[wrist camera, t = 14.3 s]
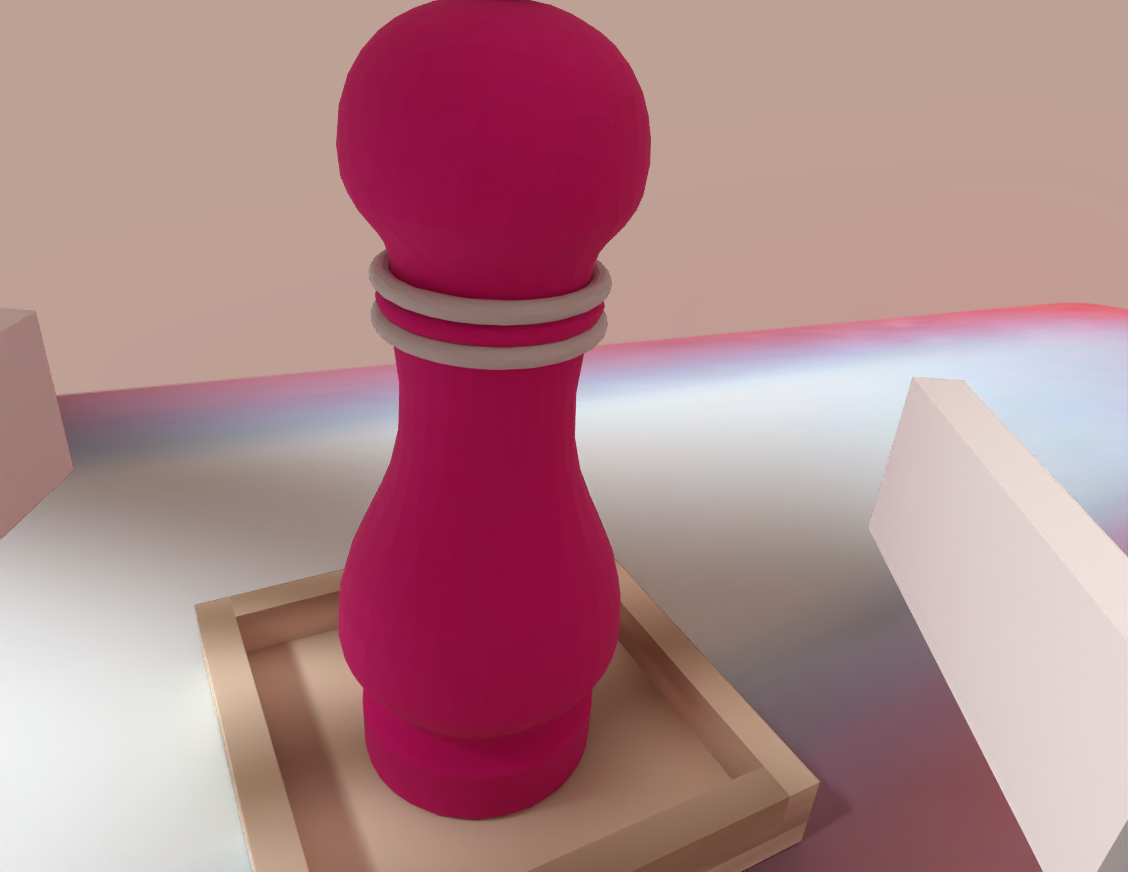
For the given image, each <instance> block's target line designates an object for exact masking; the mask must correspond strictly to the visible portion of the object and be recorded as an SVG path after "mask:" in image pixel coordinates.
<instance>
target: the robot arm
mask: <svg viewBox="0 0 1128 872" xmlns="http://www.w3.org/2000/svg"><path fill="white" fill-rule="evenodd" d="M73 470H74V468H73V464H72V460H71V456H70V452H69V447H68V443H67V439H66V435H65V431H64V427H63V423H62V418H61V414H60V410H59V406H58V402H57V398H56V393H55V389H54V385H53V381H52V378H51V373H50V369H49V364H48V360H47V356H46V352H45V348H44V344H43V340H42V336H41V331H40V327H39V324H38V319H37V315H36V311H29V310H18V309H4V308H0V540H1V539H2V538H3V537H4V536H5V535H6V534H7V533H8V532H9V531H10V530H11V529H13V528H14V527H15V526H16V525H17V524H18V523H19V522H20V521H21V520H22V519H23V518H24V517H25V516H26V515H27V514H28V513H29V512H30V511H31V510H32V509H34V508H35V507H36V506H37V505H38V504H39V503H40V502H41V501H42V500H43V499H44V498H45V497H46V496H47V495H48V494H49V493H50V492H51V491H52V490H53V489H54V488H56V487H57V486H58V485H59V484H60V483H61V482H62V481H63V480H64V479H65V478H66V477H67V476H68V475H69V474H70V473H71V472H72V471H73ZM868 529H869V530H870V532H871V534H872V536H873V538H874V540H875V542H876V544H877V546H878V548H879V550H880V552H881V554H882V556H883V558H884V560H885V562H886V564H887V566H888V568H889V570H890V572H891V574H892V576H893V578H894V580H895V582H896V584H897V586H898V587H899V589H900V591H901V593H902V595H903V597H904V599H905V601H906V603H907V605H908V607H909V609H910V611H911V613H912V615H913V617H914V619H915V621H916V623H917V625H918V627H919V629H920V631H921V633H922V635H923V637H924V639H925V641H926V643H927V644H928V646H929V648H930V650H931V652H932V654H933V656H934V658H935V660H936V662H937V664H938V666H939V668H940V670H941V672H942V674H943V676H944V678H945V680H946V682H947V684H948V686H949V688H950V690H951V692H952V694H953V696H954V698H955V700H956V701H957V703H958V705H959V707H960V709H961V711H962V713H963V715H964V717H965V719H966V721H967V723H968V725H969V727H970V729H971V731H972V733H973V735H974V737H975V739H976V741H977V743H978V745H979V747H980V749H981V751H982V753H983V755H984V757H985V758H986V760H987V762H988V764H989V766H990V768H991V770H992V772H993V774H994V776H995V778H996V780H997V782H998V784H999V786H1000V788H1001V790H1002V792H1003V794H1004V796H1005V798H1006V800H1007V802H1008V804H1009V806H1010V808H1011V810H1012V812H1013V814H1014V815H1015V817H1016V819H1017V821H1018V823H1019V825H1020V827H1021V829H1022V831H1023V833H1024V835H1025V837H1026V839H1027V841H1028V843H1029V845H1030V847H1031V849H1032V851H1033V853H1034V855H1035V857H1036V859H1037V861H1038V863H1039V865H1040V867H1041V869H1042V871H1043V872H1128V557H1127V556H1126V555H1125V554H1124V553H1123V552H1122V551H1121V549H1120V548H1119V547H1118V546H1117V545H1116V544H1115V543H1114V542H1113V541H1112V540H1111V539H1110V538H1109V537H1108V535H1107V534H1106V533H1105V532H1104V531H1103V530H1102V529H1101V528H1100V527H1099V526H1098V525H1097V524H1096V523H1095V522H1094V520H1093V519H1092V518H1091V517H1090V516H1089V515H1088V514H1087V513H1086V512H1085V511H1084V510H1083V509H1082V508H1081V507H1080V505H1079V504H1078V503H1077V502H1076V501H1075V500H1074V499H1073V498H1072V497H1071V496H1070V495H1069V494H1068V493H1067V491H1066V490H1065V489H1064V488H1063V487H1062V486H1061V485H1060V484H1059V483H1058V482H1057V481H1056V480H1055V479H1054V478H1053V476H1052V475H1051V474H1050V473H1049V472H1048V471H1047V470H1046V469H1045V468H1044V467H1043V466H1042V465H1041V464H1040V462H1039V461H1038V460H1037V459H1036V458H1035V457H1034V456H1033V455H1032V454H1031V453H1030V452H1029V451H1028V450H1027V449H1026V447H1025V446H1024V445H1023V444H1022V443H1021V442H1020V441H1019V440H1018V439H1017V438H1016V437H1015V436H1014V435H1013V434H1012V432H1011V431H1010V430H1009V429H1008V428H1007V427H1006V426H1005V425H1004V424H1003V423H1002V422H1001V421H1000V420H999V418H998V417H997V416H996V415H995V414H994V413H993V412H992V411H991V410H990V409H989V408H988V407H987V406H986V405H985V403H984V402H983V401H982V400H981V399H980V398H979V397H978V396H977V395H976V394H975V393H974V392H973V391H972V389H971V388H970V387H969V386H968V385H967V384H966V383H965V382H964V381H961V380H947V379H934V378H921V377H913V378H912V381H911V384H910V388H909V391H908V395H907V398H906V401H905V405H904V408H903V412H902V415H901V419H900V422H899V425H898V429H897V432H896V436H895V439H894V442H893V446H892V449H891V453H890V456H889V459H888V463H887V466H886V470H885V473H884V476H883V480H882V483H881V487H880V490H879V493H878V497H877V500H876V504H875V507H874V510H873V514H872V517H871V521H870V524H869V528H868Z"/></svg>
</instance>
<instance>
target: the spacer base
mask: <svg viewBox="0 0 1128 872" xmlns="http://www.w3.org/2000/svg"><path fill="white" fill-rule="evenodd" d="M614 560H615V558H614ZM615 564H616V568H617V573H618V577H619V586H620V594H621V596H620V628H619V638H618V641H617V645H616V649H615V652H614V655H613V658H612V660H611V662H610V664H609V666H608V668H607V670H606V672H605V673H604V675H603V676H602V677H601V679H600V680H599V681H598V683H597V684H596V685H595V687H594V688H593V689H592V690H593V692H592V706H591V714H590V722H589V731H588V737H587V743H586V748H585V751H584V754H583V756H582V759H581V761H580V763H579V765H578V766H577V768H576V769H575V770H574V772H573V773H572V774H571V776H570V777H569V778H568V780H567V781H566V782H565V783H564V784H563V785H562V786H561V787H560V788H559V789H558V790H557V791H555V792H554V793H553V794H551V795H550V796H548V797H547V798H545V799H543V800H542V801H540V802H539V803H537V804H535V805H534V806H532V807H530V808H527V809H524V810H521V811H518V812H514V813H511V814H507V815H504V816H501V817H493V818H485V819H477V820H475V819H466V818H457V817H448V816H439V815H437V814H434V813H432V812H429V811H427V810H424V809H422V808H419V807H417V806H414V805H412V804H410V803H409V802H407V801H406V800H404V799H403V798H401V797H400V796H398V795H397V794H396V793H394V792H393V791H392V790H391V789H390V788H389V787H388V786H387V785H386V784H385V783H384V782H383V780H382V779H381V778H380V777H379V775H378V773H377V772H376V770H375V768H374V766H373V765H372V763H371V760H370V757H369V754H368V751H367V747H366V743H365V730H364V714H363V687H362V686H361V685H360V683H359V682H358V681H357V680H356V678H355V677H354V675H353V674H352V672H351V670H350V668H349V666H348V664H347V662H346V660H345V658H344V654H343V650H342V646H341V643H340V639H339V630H338V616H339V597H340V582H341V579H342V575H343V572H344V569H342V570H338V571H334V572H330V573H326V574H321V575H317V576H313V577H309V578H305V579H301V580H297V581H293V582H289V583H284V584H280V585H276V586H272V587H268V588H264V589H260V590H256V591H251V592H247V593H243V594H239V595H235V596H231V597H227V598H223V599H218V600H214V601H210V602H206V603H202V604H198V605H195V610H196V616H197V621H198V627H199V633H200V638H201V644H202V650H203V655H204V661H205V666H206V670H207V674H208V679H209V683H210V688H211V692H212V696H213V701H214V705H215V710H216V714H217V718H218V723H219V727H220V732H221V736H222V740H223V745H224V749H225V753H226V758H227V762H228V767H229V771H230V775H231V780H232V784H233V789H234V793H235V797H236V802H237V806H238V811H239V815H240V819H241V824H242V828H243V833H244V837H245V841H246V846H247V850H248V854H249V859H250V863H251V868H252V872H742V871H744V870H745V869H747V868H749V867H751V866H753V865H755V864H757V863H759V862H761V861H763V860H765V859H767V858H769V857H771V856H773V855H775V854H777V853H779V852H781V851H783V850H785V849H787V848H789V847H791V846H793V845H794V844H796V843H798V842H800V841H802V838H803V835H804V831H805V828H806V825H807V822H808V819H809V816H810V813H811V809H812V806H813V803H814V800H815V797H816V794H817V791H818V787H819V784H820V781H819V780H818V779H817V778H816V777H815V776H814V775H813V774H812V772H811V771H810V770H809V769H808V768H807V767H806V766H805V765H804V764H803V763H802V762H801V761H800V759H799V758H798V757H797V756H796V755H795V754H794V753H793V752H792V751H791V750H790V749H789V747H788V746H787V745H786V744H785V743H784V742H783V741H782V740H781V739H780V738H779V737H778V736H777V734H776V733H775V732H774V731H773V730H772V729H771V728H770V727H769V726H768V725H767V724H766V722H765V721H764V720H763V719H762V718H761V717H760V716H759V715H758V714H757V713H756V712H755V711H754V709H753V708H752V707H751V706H750V705H749V704H748V703H747V702H746V701H745V700H744V699H743V698H742V696H741V695H740V694H739V693H738V692H737V691H736V690H735V689H734V688H733V687H732V686H731V684H730V683H729V682H728V681H727V680H726V679H725V678H724V677H723V676H722V675H721V674H720V673H719V671H718V670H717V669H716V668H715V667H714V666H713V665H712V664H711V663H710V662H709V661H708V659H707V658H706V657H705V656H704V655H703V654H702V653H701V652H700V651H699V650H698V649H697V648H696V646H695V645H694V644H693V643H692V642H691V641H690V640H689V639H688V638H687V637H686V636H685V635H684V633H683V632H682V631H681V630H680V629H679V628H678V627H677V626H676V625H675V624H674V623H673V621H672V620H671V619H670V618H669V617H668V616H667V615H666V614H665V613H664V612H663V611H662V610H661V608H660V607H659V606H658V605H657V604H656V603H655V602H654V601H653V600H652V599H651V598H650V597H649V595H648V594H647V593H646V592H645V591H644V590H643V589H642V588H641V587H640V586H639V585H638V583H637V582H636V581H635V580H634V579H633V578H632V577H631V576H630V575H629V574H628V573H627V572H626V570H625V569H624V568H623V567H622V566H621V565H620V564H619V563H618V562H617V561H616V560H615Z"/></svg>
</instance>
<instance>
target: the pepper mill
mask: <svg viewBox="0 0 1128 872" xmlns="http://www.w3.org/2000/svg"><path fill="white" fill-rule="evenodd" d="M650 145H651V136H650V126H649V116H648V112H647V108H646V103H645V100H644V95H643V92H642V89H641V87H640V85H639V83H638V81H637V79H636V77H635V74H634V72H633V70H632V68H631V66H630V65H629V63H628V62H627V61H626V59H625V58H624V57H623V55H622V54H621V53H620V51H619V50H618V48H617V47H616V46H615V45H614V44H613V43H612V42H611V41H610V40H609V39H608V38H607V37H606V36H604V35H603V34H602V33H601V32H600V31H598V30H596V29H595V28H594V27H592V26H591V25H589V24H587V23H586V22H584V21H583V20H581V19H579V18H578V17H576V16H574V15H573V14H571V13H569V12H566V11H563V10H561V9H559V8H557V7H554V6H552V5H549V4H544V3H540V2H536V1H531V0H437V1H432V2H430V3H427V4H424V5H421V6H418V7H415V8H413V9H411V10H409V11H407V12H405V13H403V14H401V15H399V16H397V17H395V18H394V19H393V20H391V21H390V22H389V23H387V24H386V25H385V26H383V27H382V28H381V29H379V30H378V31H377V32H376V34H375V35H374V36H373V37H372V38H371V39H370V40H369V41H368V43H367V44H366V45H365V46H364V47H363V48H362V50H361V51H360V53H359V55H358V57H357V58H356V60H355V62H354V64H353V66H352V67H351V69H350V71H349V73H348V75H347V78H346V82H345V85H344V89H343V92H342V96H341V99H340V103H339V110H338V125H337V140H336V147H337V153H338V162H339V169H340V176H341V179H342V181H343V183H344V186H345V188H346V190H347V193H348V194H349V196H350V198H351V199H352V201H353V203H354V204H355V206H356V208H357V210H358V211H359V212H360V213H361V214H362V216H363V217H364V218H365V219H366V220H367V221H368V223H369V224H370V225H371V226H372V227H373V228H374V230H375V231H376V232H377V233H378V234H379V236H380V237H381V239H382V240H383V242H384V244H385V246H386V249H385V250H384V251H382V252H381V253H380V254H379V255H377V256H376V257H375V258H374V259H373V261H372V262H371V265H370V268H369V279H370V281H371V283H372V285H373V287H374V288H375V290H376V293H375V298H376V301H375V302H374V303H373V305H372V308H371V321H372V324H373V327H374V328H375V330H376V332H377V333H378V334H379V335H380V336H381V337H382V338H383V339H384V340H385V341H387V342H388V343H390V344H391V345H393V346H394V351H395V358H396V365H397V372H398V378H399V424H398V432H397V437H396V441H395V445H394V450H393V454H392V458H391V462H390V464H389V467H388V469H387V471H386V474H385V476H384V478H383V481H382V483H381V485H380V487H379V489H378V491H377V493H376V495H375V497H374V498H373V500H372V502H371V504H370V506H369V508H368V510H367V512H366V514H365V516H364V518H363V520H362V522H361V524H360V526H359V529H358V531H357V533H356V535H355V537H354V539H353V541H352V545H351V548H350V552H349V555H348V558H347V562H346V565H345V568H344V572H343V575H342V579H341V582H340V597H339V616H338V630H339V639H340V643H341V646H342V650H343V654H344V658H345V660H346V662H347V664H348V666H349V668H350V670H351V672H352V674H353V675H354V677H355V678H356V680H357V681H358V682H359V683H360V685H361V686H362V687H363V714H364V730H365V743H366V747H367V751H368V754H369V757H370V760H371V763H372V765H373V766H374V768H375V770H376V772H377V773H378V775H379V777H380V778H381V779H382V780H383V782H384V783H385V784H386V785H387V786H388V787H389V788H390V789H391V790H392V791H393V792H394V793H396V794H397V795H398V796H400V797H401V798H403V799H404V800H406V801H407V802H409V803H410V804H412V805H414V806H417V807H419V808H422V809H424V810H427V811H429V812H432V813H434V814H437V815H439V816H448V817H457V818H466V819H475V820H477V819H485V818H493V817H501V816H504V815H507V814H511V813H514V812H518V811H521V810H524V809H527V808H530V807H532V806H534V805H535V804H537V803H539V802H540V801H542V800H543V799H545V798H547V797H548V796H550V795H551V794H553V793H554V792H555V791H557V790H558V789H559V788H560V787H561V786H562V785H563V784H564V783H565V782H566V781H567V780H568V778H569V777H570V776H571V774H572V773H573V772H574V770H575V769H576V768H577V766H578V765H579V763H580V761H581V759H582V756H583V754H584V751H585V748H586V743H587V737H588V731H589V722H590V714H591V706H592V692H593V690H592V689H593V688H594V687H595V685H596V684H597V683H598V681H599V680H600V679H601V677H602V676H603V675H604V673H605V672H606V670H607V668H608V666H609V664H610V662H611V660H612V658H613V655H614V652H615V649H616V645H617V641H618V638H619V628H620V596H621V594H620V586H619V577H618V573H617V568H616V564H615V560H614V555H613V551H612V548H611V545H610V542H609V540H608V537H607V535H606V532H605V530H604V527H603V525H602V522H601V520H600V517H599V515H598V512H597V510H596V508H595V506H594V503H593V501H592V499H591V497H590V494H589V492H588V489H587V486H586V484H585V481H584V478H583V475H582V473H581V470H580V466H579V460H578V454H577V448H576V441H575V415H576V391H577V386H578V381H579V376H580V371H581V366H582V361H583V356H584V353H586V352H588V351H590V350H592V349H593V348H594V347H595V346H596V345H597V344H598V343H599V342H600V341H601V340H602V339H603V338H604V336H605V333H606V330H607V326H608V323H607V316H606V314H605V312H604V307H605V306H604V300H605V299H606V298H607V296H608V294H609V293H610V290H611V285H612V281H611V276H610V274H609V272H608V270H607V269H606V268H605V266H604V265H603V264H602V263H601V262H600V261H598V260H597V257H598V254H599V253H600V251H601V250H602V249H603V248H604V246H605V245H606V244H607V243H608V242H609V241H610V240H611V239H612V238H613V237H614V236H615V235H616V234H617V233H618V232H619V231H620V230H621V229H622V228H623V227H624V226H625V225H626V223H627V222H628V221H629V220H630V218H631V217H632V216H633V214H634V213H635V211H636V210H637V208H638V206H639V203H640V201H641V199H642V197H643V194H644V189H645V185H646V180H647V175H648V170H649V166H650V147H651V146H650Z"/></svg>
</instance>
